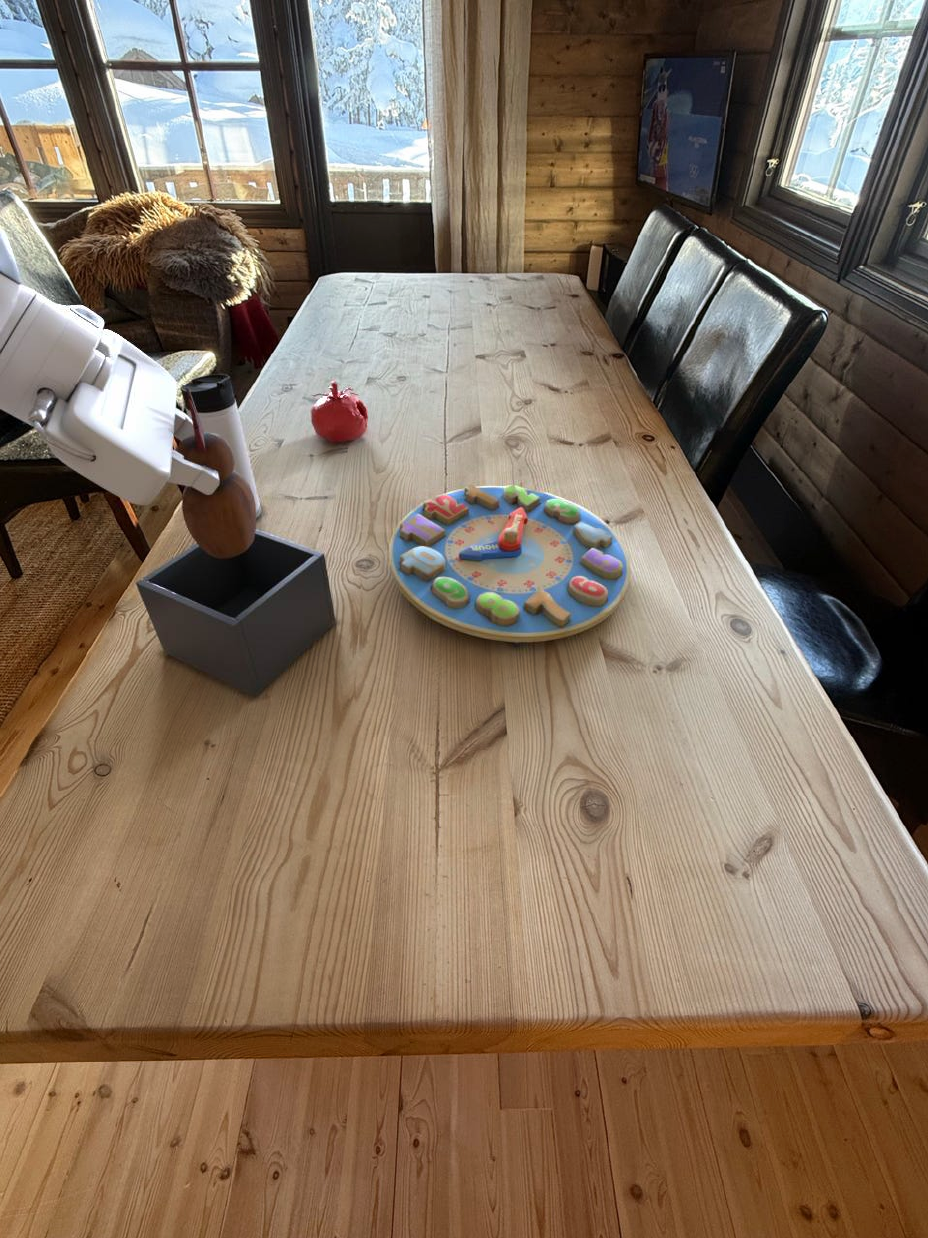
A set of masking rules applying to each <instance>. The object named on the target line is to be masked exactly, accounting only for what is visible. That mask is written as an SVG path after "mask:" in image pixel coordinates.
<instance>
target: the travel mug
mask: <svg viewBox="0 0 928 1238" xmlns="http://www.w3.org/2000/svg"><path fill="white" fill-rule="evenodd" d="M232 384H233V383H232V379H231V377H230V376H229V375H228V374H225V373H213V374H206V375H203V376H198V377H195V378H193V379H191V381H189V382H187V383H186V384H182V385H181V386H180V392H181V395H182V399H183V401H184V408H185V411H186V415H187V416H188V417H189V418H190V419H191V420H192V416H191V411H190V406H189V401H188V395H187V390H186V388H189V391H190V393H191V396H192V399H193V402H194V405H195V407H196V410H197V413H198V416H199V418H200V421H201V424H202V427H203V430H204V432H205V433H213V434H218V435H220V436H221V437H222V438H224V439H225V440H226V441H227V442H228V444H229V446H230V448H231V451H232V454H233V457H234V462H235V464H234V469H233V470H234V471H235V472H237V473H239V474H240V475H241V476H242V477H243V478H244V479H245V480H246V481H247V483H248V484H249V486H250V488H251V490H252V493H253V495H254V499H255V503H256V519H258V518H259V517H260V515H261V513H262V508H261V503H260V498H259V495H258V490H257V486H256V481H255V477H254V473H253V469H252V464H251V460H250V456H249V452H248V447H247V443H246V438H245V435H244V430H243V426H242V422H241V417H240V414H239V413H240V412H239V410H238V409H239V408H238V405H237V401H236V398H235V394H234V389H233V386H232Z"/></svg>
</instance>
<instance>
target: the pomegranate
mask: <svg viewBox="0 0 928 1238" xmlns="http://www.w3.org/2000/svg"><path fill="white" fill-rule="evenodd" d="M330 383H331V386H329V385H328V386H327V388H328V389H329V390H330V393H316V394H314V395H312V394H311V396H312V397H317V396H323V397H321V398H320V399H317V401H316V402H315V403H314V405H312V407H311V408H310V419H311V420H310V422H311V425H312V427H313V429H314V432H315V434H316V435H317V436H318V437H320V438H322V439H324V440H326V441H328V442H332V443H339V444H340V443H345V442H346V443H347V442H351V441H355V440H356V439H359V438H361V437H362V436H364V434H365V433H366V431H367V430H368V421H369V412H368V408H367V406H366V404H365V402H363V401H362V400H361V399H359V398H358V396H359V394H358V393H355V392H347V391H354V388H350V387H346V388H345V389H343V390H342V391H339V388H338V385H339V384H338V382H337V381H331V382H330ZM346 392H347V393H346Z"/></svg>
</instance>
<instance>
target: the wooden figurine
mask: <svg viewBox="0 0 928 1238" xmlns="http://www.w3.org/2000/svg"><path fill="white" fill-rule="evenodd" d="M186 390H187V395H188V401H189V406H190V411H191V416H192V422H193V427H194V433H195V435H192V436H190V437H188V438H186V439H184V440H182V441H180V442H179V444H178V447H177V449H176V452H178V453H180V454H181V455H183V456H184V460H187V461H189V462H192V463H195V464H197V465H201V464H202V463H204V464H206V465H207V466H209V467H210V468H211V469H214V470H216V471H217V472H218V473H219V486H218V487H217V488H216V490H215V491H214V492H213V494H210V495H206V494H204V493H202V492H200V491H199V490H197V489H195V488H193V487H191V486H185V487H184V490H183V492H182V500H181V511H182V516H183V520H184V524H185V526H186V528H187V531H188V532H189V534H190V536H191V538H192V539H193V540H194V542H195V543H197V544H198V545H199V546H200V547H201V548H202V549H203V550H204V551H205V552H207V553H208V554H209V555H211V556H213V557H217V558H231V557H235V556H238V555H240V554H242V553H243V552H244V551H246V550H247V549H248V548H249V547H250V545H251V544H252V543H253V541H254V536H255V530H256V529H257V528H256V526H257V518H256V503H255V499H254V495H253V493H252V490H251V488H250V486H249V484H248V483H247V481H246V480H245V479H244V478H243V477H242V476H241V475H240V474H239V473H237V472H235V471H234V470H233V469H234V464H235V462H234V457H233V454H232V451H231V448H230V446H229V444H228V442H227V441H226V440H225V439H224V438H222V437H221V436H220V435H218V434H213V433H205V432H204V430H203V427H202V424H201V421H200V418H199V416H198V413H197V410H196V407H195V405H194V402H193V399H192V396H191V393H190V391H189V388H186Z"/></svg>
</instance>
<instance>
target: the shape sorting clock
mask: <svg viewBox="0 0 928 1238" xmlns="http://www.w3.org/2000/svg"><path fill="white" fill-rule="evenodd" d="M388 562H389V569H390V572H391V575H392V578H393V581H394V583H395V584H396V586H397V588H398V590H399V591H400V593H401V594H402V595H403V596H404V597H405V598H406V600H408V602H409V603H410V604H412V606H414V608H416V609H417V610H418V611H420V612H421V613H422V614H424V615H425V616H427V617H428V618H429V619H431V620H433V621H435V622H436V623H439V624H441V625H442V626H445V627H447V628H449V629H453V630H455V631H457V632H460V633H464V634H467V635H470V636H474V637H477V638H480V639H481V638H482V639H487V640H493V641H498V642H509V643H513V644H516V645H518V644H520V643H538V642H539V643H540V642H548V641H553V640H558V639H563V638H567V637H571V636H575V635H577V634H580V633H583V632H585V631H588V630H590V629H591V628H593V627H595V626H597V625H599V624H601V623H602V622H603V621H605V620H606V619H608V617H610V615H612V614H614V612H615V611H616V610H617V609H618V608H619V606H620V604H621V603H622V602H623V600H624V598H625V596H626V594H627V591H628V588H629V584H630V581H631V577H632V576H631V575H632V567H631V560H630V557H629V555H628V552H627V548H626V546H625V545H624V543H623V542H622V540H621V539H620V537H619V536H618V534H617V533H616V532H615V531H614V530H613V529H612V528H611V526H609V525H608V524H607V523H606V521H604V520H602V519H601V518H600V517H599V516H598V515H596V514H595V513H594V512H592V511H590V510H589V509H587V508H585V507H583V506H582V505H580V504H577V503H576V502H574V501H571V500H568V499H566V498H563V497H561V496H558V495H556V494H553V493H550V492H547V491H541V490H538V489H533V488H527V487H522V486H519V485H515V484H510V485H509V484H508V485H480V486H474V485H473V484H470V485H468V486H465V488H460V489H454V490H451V491H447V492H445V493H442V494H437V495H435V496H434V497H431V498H429V499H427V500H425V501H423V502H421V503H419V504H418V505H417V506H416V507H414V508H413V509H412V510H410V511H409V512H408V513H407V514H406V515H404V517H403V518H402V519H401V520H400V522H399V523H398V525H397V526H396V528H395V529H394V531H393V533H392V534H391V538H390V540H389V545H388Z"/></svg>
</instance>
